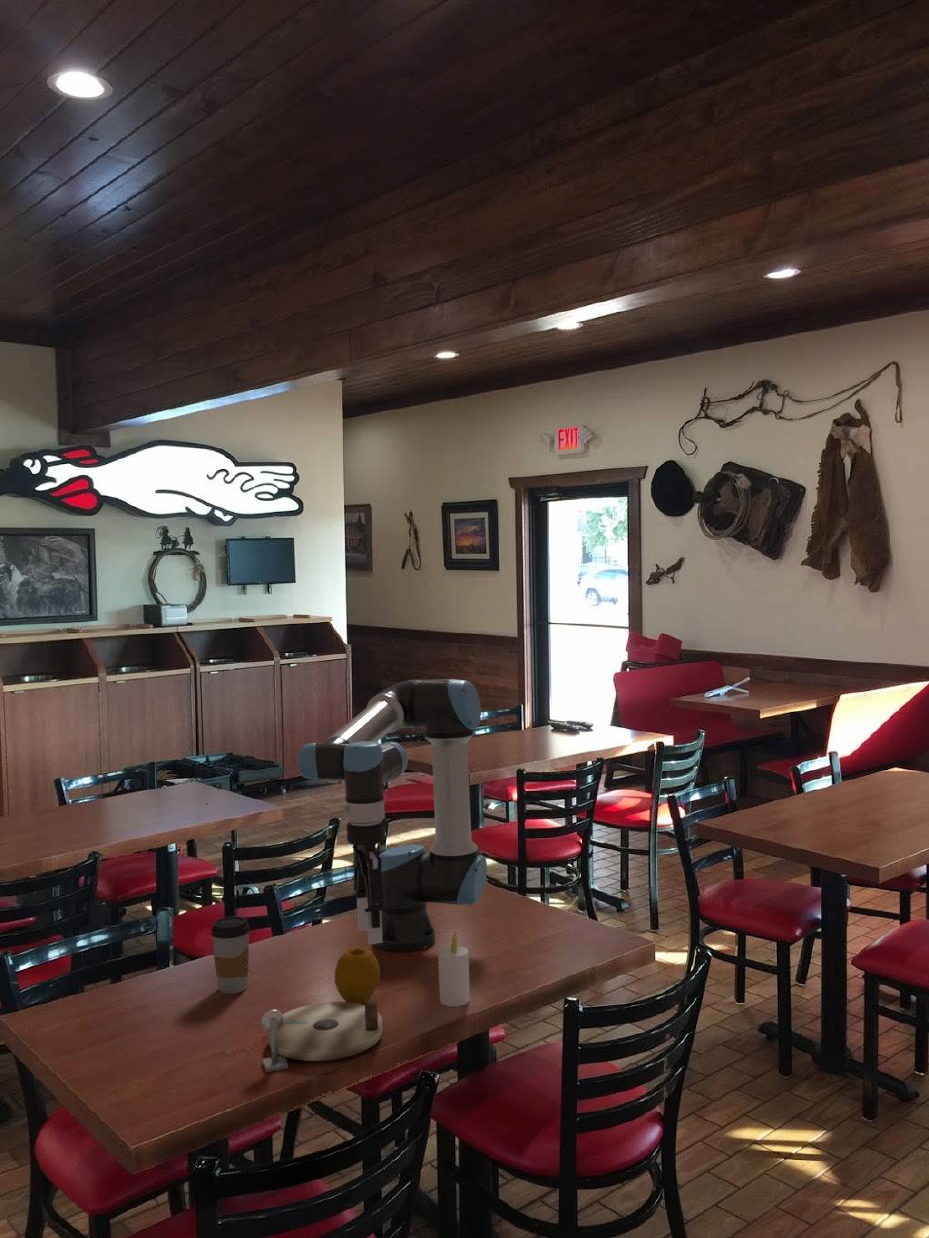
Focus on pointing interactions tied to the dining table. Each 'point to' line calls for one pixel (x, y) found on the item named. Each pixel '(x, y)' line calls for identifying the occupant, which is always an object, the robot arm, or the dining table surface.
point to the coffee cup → (231, 953)
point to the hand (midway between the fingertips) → (370, 935)
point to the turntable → (329, 1030)
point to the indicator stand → (273, 1040)
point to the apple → (357, 975)
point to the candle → (454, 974)
